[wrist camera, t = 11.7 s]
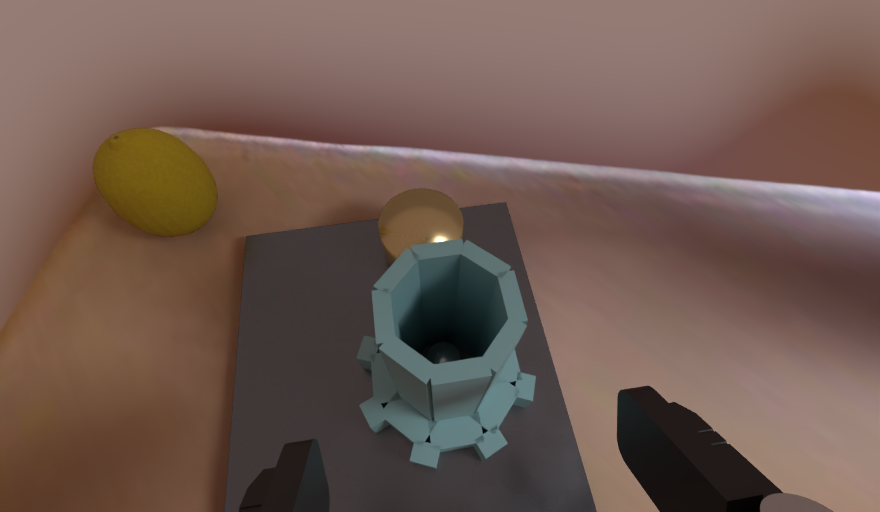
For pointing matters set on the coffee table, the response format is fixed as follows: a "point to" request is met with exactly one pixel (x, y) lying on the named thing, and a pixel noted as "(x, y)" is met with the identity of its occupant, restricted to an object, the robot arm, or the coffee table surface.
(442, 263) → the teal octagonal tube
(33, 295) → the coffee table surface
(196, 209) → the lemon
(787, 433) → the coffee table surface
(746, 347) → the coffee table surface
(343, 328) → the carrier plate
